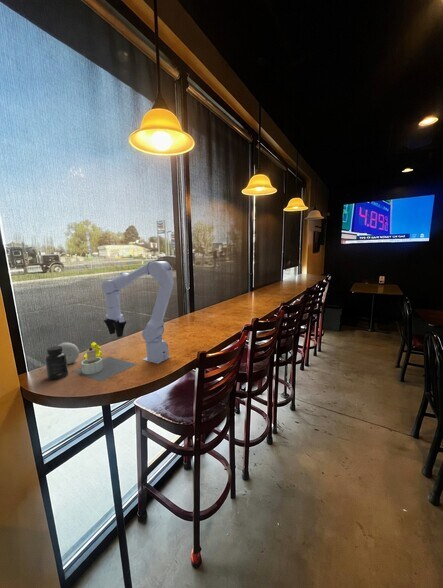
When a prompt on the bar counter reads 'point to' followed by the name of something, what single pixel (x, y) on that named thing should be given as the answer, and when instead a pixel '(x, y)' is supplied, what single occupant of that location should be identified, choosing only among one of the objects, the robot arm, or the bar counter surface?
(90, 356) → the peg
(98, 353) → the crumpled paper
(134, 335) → the bar counter surface
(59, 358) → the supplement bottle
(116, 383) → the bar counter surface
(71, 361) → the grey round disc
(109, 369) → the mat
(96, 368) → the jar
